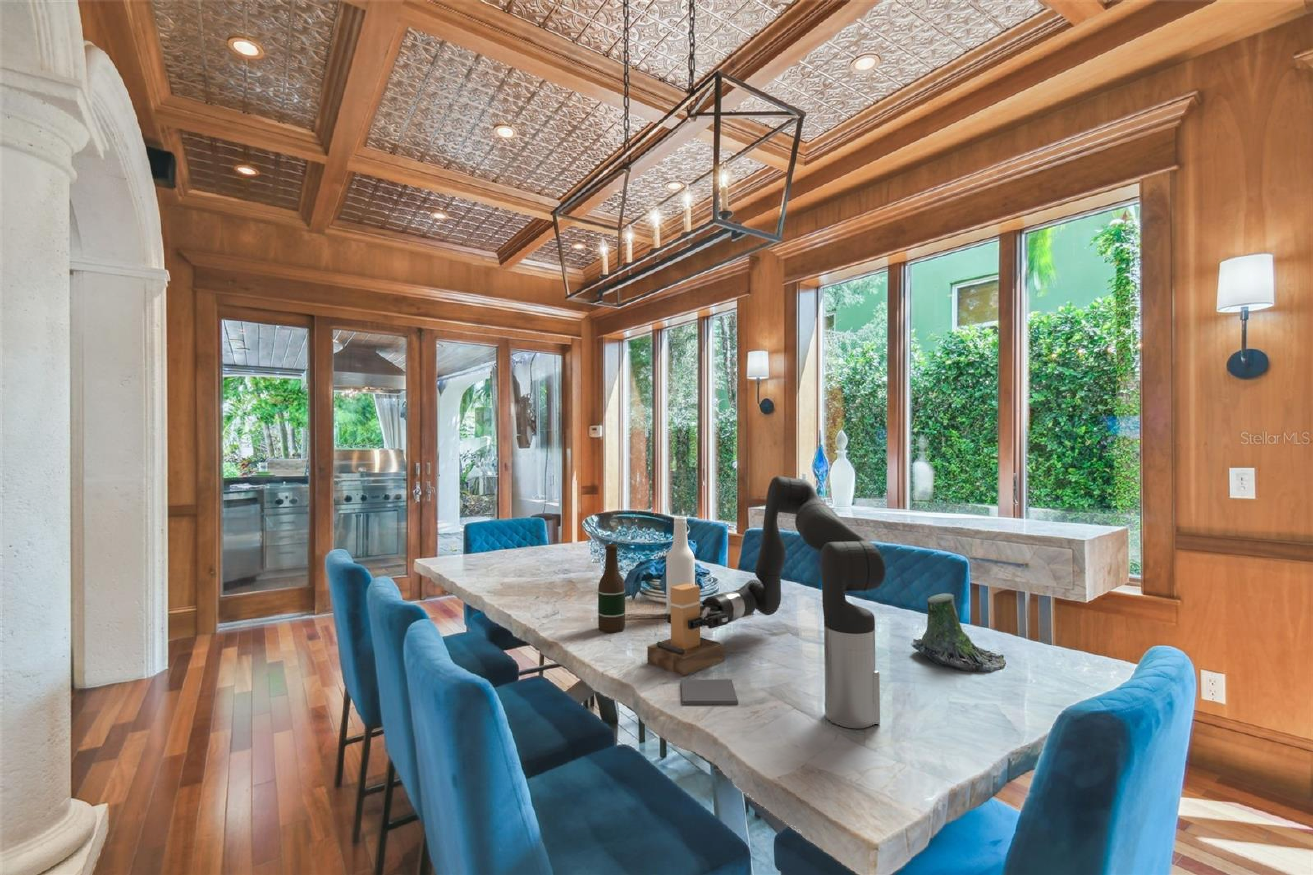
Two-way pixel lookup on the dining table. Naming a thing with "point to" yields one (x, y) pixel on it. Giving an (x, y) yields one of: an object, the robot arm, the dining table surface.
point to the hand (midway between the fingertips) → (678, 622)
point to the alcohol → (679, 560)
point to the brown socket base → (685, 656)
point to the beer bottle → (611, 595)
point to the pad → (708, 692)
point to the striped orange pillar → (684, 615)
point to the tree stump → (953, 640)
